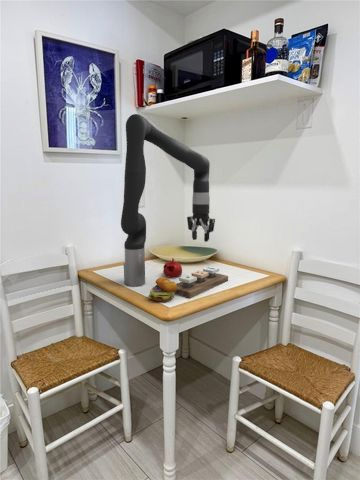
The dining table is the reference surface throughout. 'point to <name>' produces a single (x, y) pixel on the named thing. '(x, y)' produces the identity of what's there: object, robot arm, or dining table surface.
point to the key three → (211, 271)
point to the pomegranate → (172, 269)
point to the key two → (200, 275)
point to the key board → (200, 286)
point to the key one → (187, 280)
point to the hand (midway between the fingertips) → (200, 240)
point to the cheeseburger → (163, 290)
